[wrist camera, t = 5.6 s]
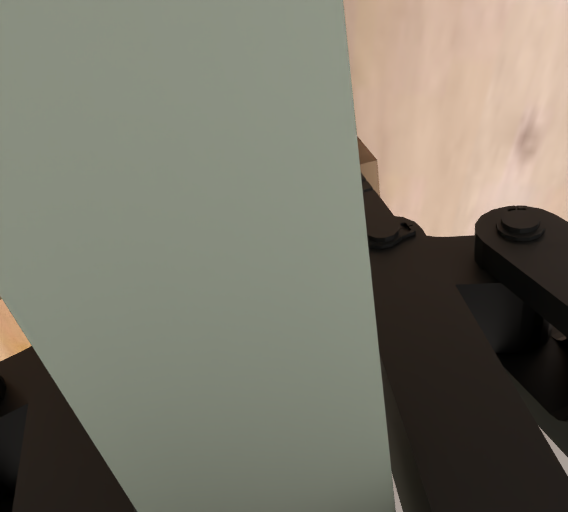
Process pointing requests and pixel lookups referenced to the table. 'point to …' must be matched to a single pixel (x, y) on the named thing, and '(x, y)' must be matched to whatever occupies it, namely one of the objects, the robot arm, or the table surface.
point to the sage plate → (196, 246)
